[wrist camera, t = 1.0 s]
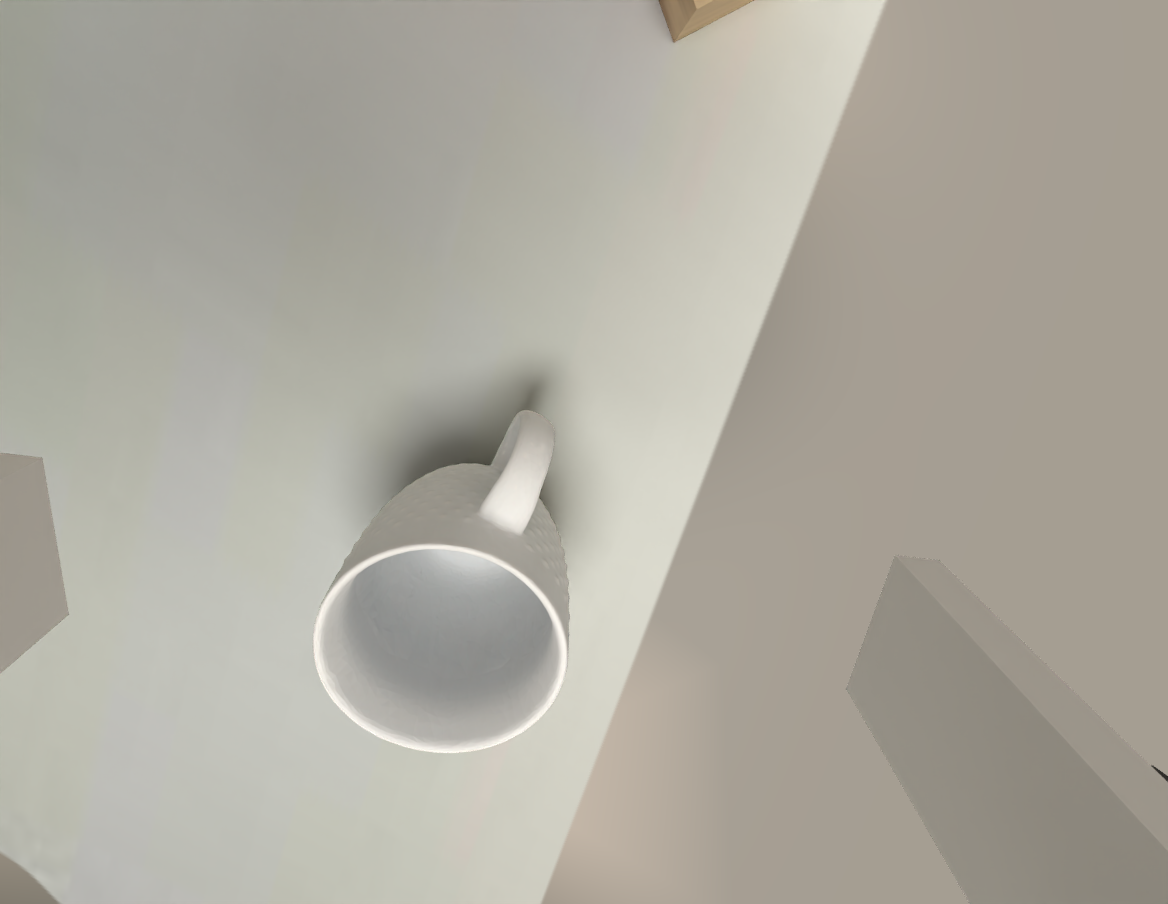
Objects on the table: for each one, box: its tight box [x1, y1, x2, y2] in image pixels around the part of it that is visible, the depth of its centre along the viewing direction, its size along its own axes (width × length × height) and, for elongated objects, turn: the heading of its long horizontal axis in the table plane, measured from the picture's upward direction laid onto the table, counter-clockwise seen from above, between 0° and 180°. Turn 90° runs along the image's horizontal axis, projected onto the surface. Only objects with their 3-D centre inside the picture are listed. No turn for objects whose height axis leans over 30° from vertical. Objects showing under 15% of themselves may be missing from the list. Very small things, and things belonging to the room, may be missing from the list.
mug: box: [313, 410, 570, 753], centre depth 33 cm, size 15×11×13 cm
